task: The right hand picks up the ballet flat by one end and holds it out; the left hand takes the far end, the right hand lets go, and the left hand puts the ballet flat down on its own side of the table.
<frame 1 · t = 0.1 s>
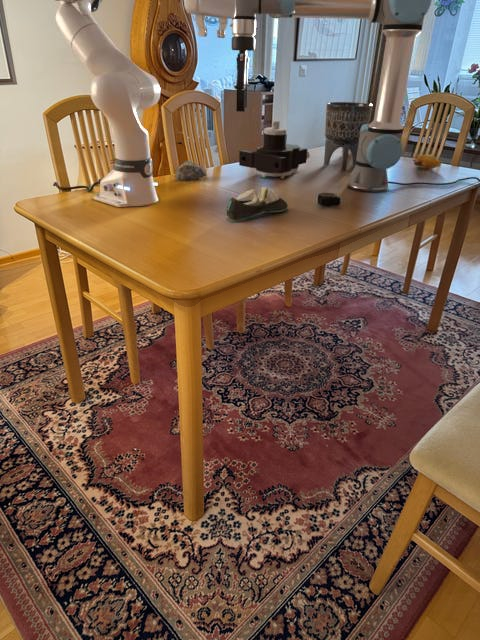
left hand: (212, 37, 119), 48 cm above the table, tool pointing down, fingers open, 8 cm apart
right hand: (241, 109, 155), 28 cm above the table, tool pointing down, fingers open, 13 cm apart
figurine: (350, 154, 238), on the table
mechanical component: (280, 173, 196), on the table
tape measure: (328, 206, 154), on the table
planter: (341, 167, 211), on the table
ballet flat: (259, 215, 144), on the table
toy: (424, 167, 213), on the table
rock: (192, 179, 184), on the table
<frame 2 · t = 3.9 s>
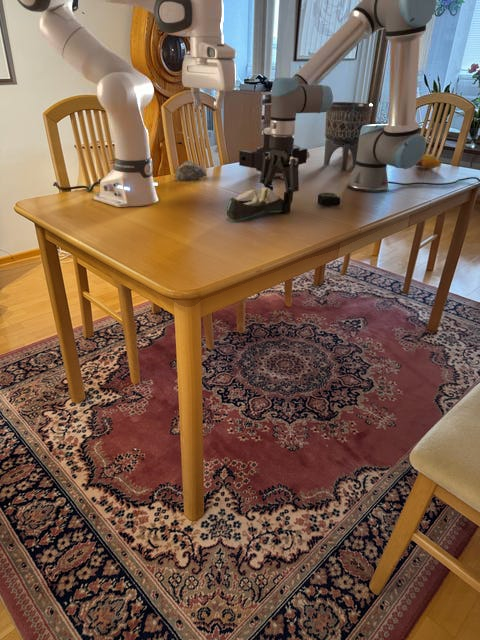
left hand: (207, 107, 128), 31 cm above the table, tool pointing down, fingers open, 8 cm apart
right hand: (277, 209, 149), 0 cm above the table, tool pointing down, fingers closed on ballet flat, 8 cm apart
ballet flat: (259, 215, 144), on the table, touching right hand
everything else where it was.
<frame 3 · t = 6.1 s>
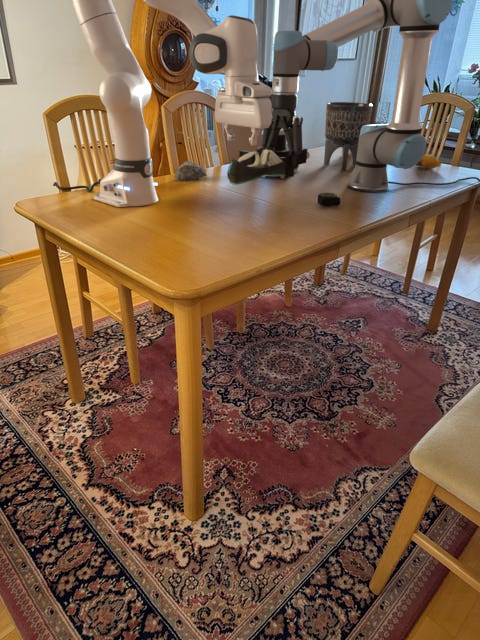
left hand: (241, 142, 128), 22 cm above the table, tool pointing down, fingers open, 8 cm apart
right hand: (280, 174, 143), 12 cm above the table, tool pointing down, fingers closed on ballet flat, 8 cm apart
ballet flat: (261, 179, 139), point 11 cm above the table, touching right hand
everything else where it was.
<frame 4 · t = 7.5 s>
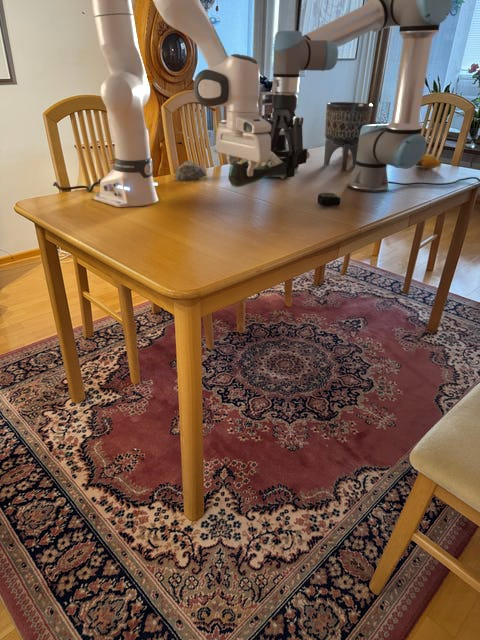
left hand: (240, 173, 133), 14 cm above the table, tool pointing down, fingers closed on ballet flat, 6 cm apart
right hand: (280, 174, 143), 12 cm above the table, tool pointing down, fingers closed on ballet flat, 8 cm apart
ballet flat: (262, 180, 138), point 11 cm above the table, touching right hand, left hand
everything else where it was.
when the right hand's fingers open (12 cm above the table, at t = 8.6 s): ballet flat stays where it is, held by the left hand.
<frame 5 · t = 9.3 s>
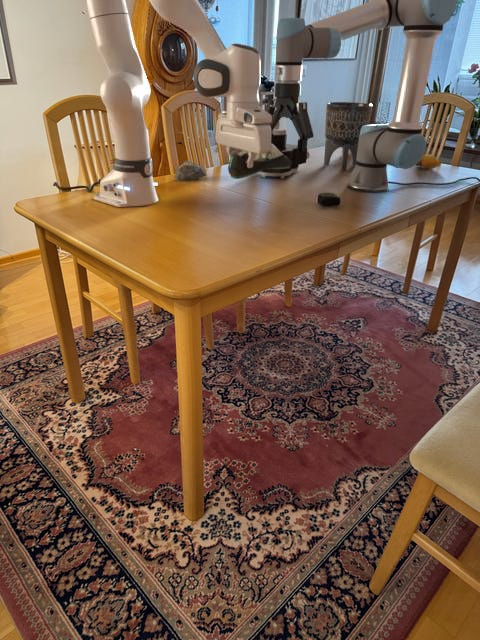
left hand: (240, 165, 131), 16 cm above the table, tool pointing down, fingers closed on ballet flat, 6 cm apart
right hand: (284, 159, 141), 16 cm above the table, tool pointing down, fingers open, 13 cm apart
ballet flat: (262, 172, 137), point 13 cm above the table, touching left hand
everything else where it was.
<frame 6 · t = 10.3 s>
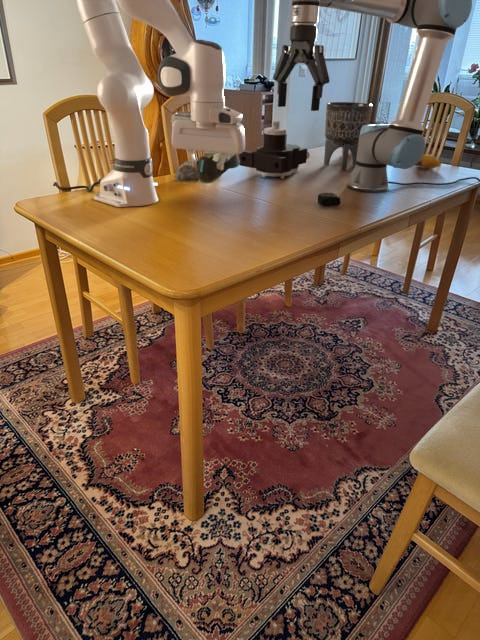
left hand: (208, 168, 124), 17 cm above the table, tool pointing down, fingers closed on ballet flat, 6 cm apart
right hand: (297, 108, 137), 30 cm above the table, tool pointing down, fingers open, 13 cm apart
ballet flat: (221, 173, 133), point 14 cm above the table, touching left hand
everything else where it was.
when the left hand's fingers open (4 cm above the table, at t = 13.2 s): ballet flat stays where it is, on the table.
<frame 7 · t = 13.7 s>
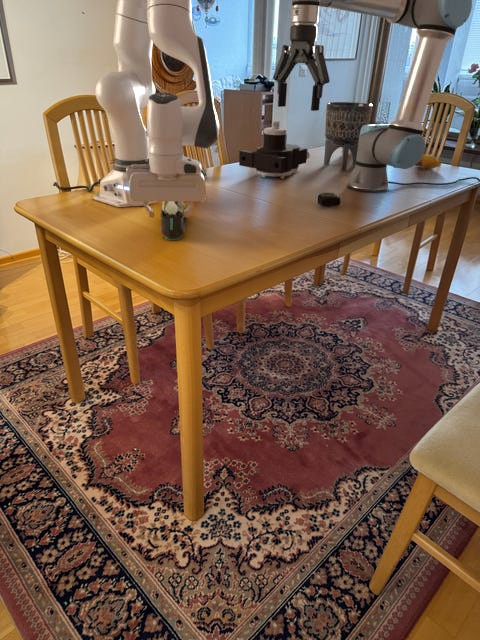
left hand: (169, 217, 123), 6 cm above the table, tool pointing down, fingers open, 8 cm apart
right hand: (297, 108, 137), 30 cm above the table, tool pointing down, fingers open, 13 cm apart
ballet flat: (175, 227, 133), on the table
everything else where it was.
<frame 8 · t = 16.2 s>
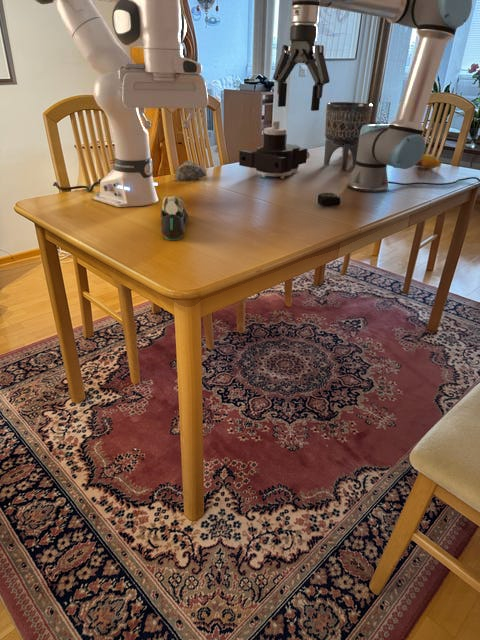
left hand: (167, 128, 112), 28 cm above the table, tool pointing down, fingers open, 8 cm apart
right hand: (297, 108, 137), 30 cm above the table, tool pointing down, fingers open, 13 cm apart
nothing on the table moved.
at the end: ballet flat inside the target area (7.9 cm from its centre), on the table; the left hand is holding nothing; the right hand is holding nothing; ballet flat at rest at the end (0.0 cm/s) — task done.
